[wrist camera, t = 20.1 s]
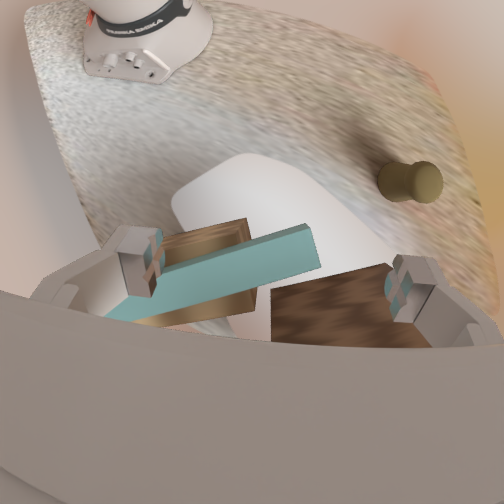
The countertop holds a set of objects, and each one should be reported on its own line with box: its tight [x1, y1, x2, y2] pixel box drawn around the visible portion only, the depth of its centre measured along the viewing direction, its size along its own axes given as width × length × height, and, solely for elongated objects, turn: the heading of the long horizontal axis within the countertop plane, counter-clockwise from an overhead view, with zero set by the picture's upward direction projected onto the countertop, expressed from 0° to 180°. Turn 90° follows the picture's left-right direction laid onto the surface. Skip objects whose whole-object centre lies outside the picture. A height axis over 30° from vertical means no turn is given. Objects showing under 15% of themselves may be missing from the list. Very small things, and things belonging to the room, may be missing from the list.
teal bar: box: [103, 223, 321, 322], centre depth 29 cm, size 26×4×4 cm, turn 108°
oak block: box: [131, 218, 257, 327], centre depth 38 cm, size 16×8×15 cm, turn 103°
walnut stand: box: [271, 263, 433, 348], centre depth 34 cm, size 18×12×26 cm, turn 103°
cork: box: [378, 161, 443, 204], centre depth 36 cm, size 6×6×11 cm
